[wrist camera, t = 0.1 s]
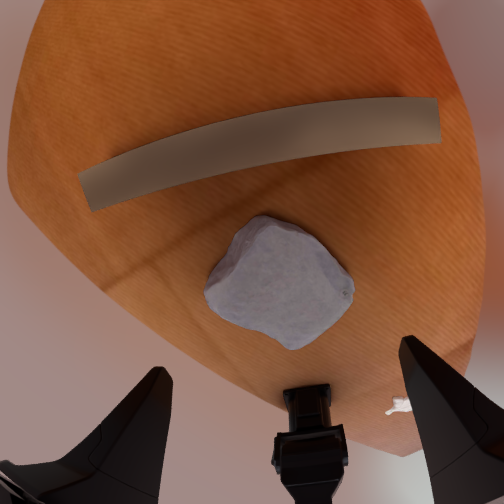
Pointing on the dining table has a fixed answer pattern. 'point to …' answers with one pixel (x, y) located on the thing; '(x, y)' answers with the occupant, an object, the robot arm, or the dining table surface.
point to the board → (262, 144)
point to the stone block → (279, 283)
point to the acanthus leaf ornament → (400, 405)
